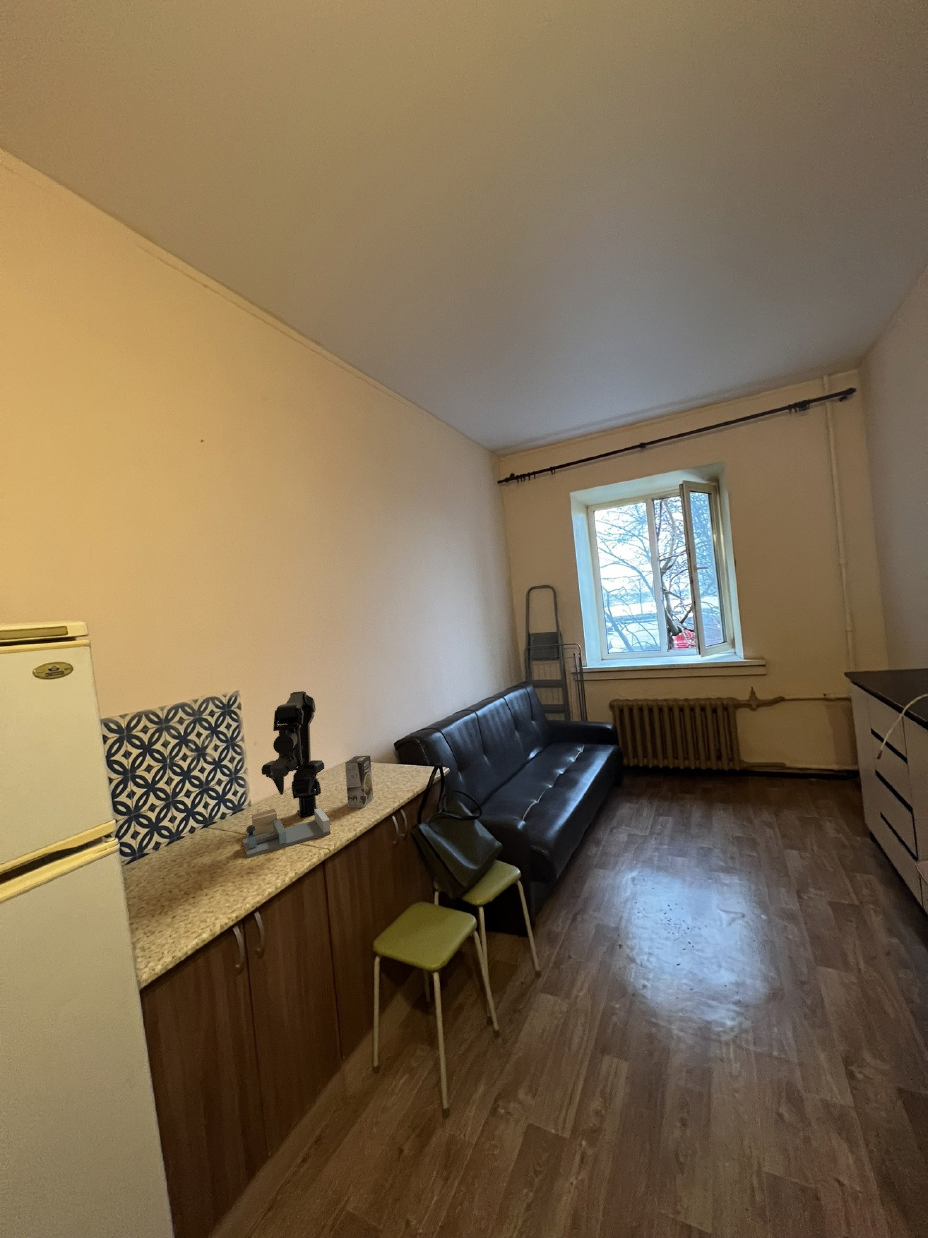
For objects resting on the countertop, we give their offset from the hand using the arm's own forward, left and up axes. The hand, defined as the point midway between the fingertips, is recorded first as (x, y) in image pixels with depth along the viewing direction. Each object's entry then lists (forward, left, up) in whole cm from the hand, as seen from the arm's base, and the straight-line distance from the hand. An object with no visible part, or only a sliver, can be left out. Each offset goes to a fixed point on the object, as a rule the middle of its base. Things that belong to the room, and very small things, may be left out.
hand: (295, 794), depth 150 cm
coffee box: (-14, +25, -14) cm, 32 cm away
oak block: (-11, -8, -13) cm, 19 cm away
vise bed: (-1, -3, -13) cm, 14 cm away
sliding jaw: (-1, -9, -12) cm, 15 cm away
